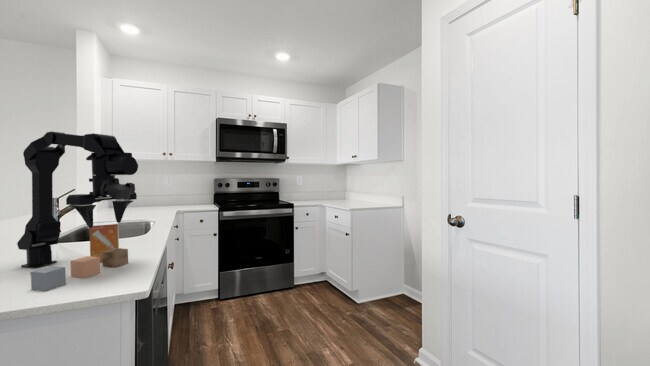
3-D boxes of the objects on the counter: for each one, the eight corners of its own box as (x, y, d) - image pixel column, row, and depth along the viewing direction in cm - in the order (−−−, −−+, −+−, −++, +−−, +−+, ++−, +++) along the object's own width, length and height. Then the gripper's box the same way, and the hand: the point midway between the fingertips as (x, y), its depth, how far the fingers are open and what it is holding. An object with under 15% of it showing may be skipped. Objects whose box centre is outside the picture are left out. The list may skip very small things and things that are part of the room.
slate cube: (31, 290, 81) (30, 271, 80) (52, 283, 85) (51, 265, 85) (45, 291, 79) (44, 273, 79) (66, 284, 84) (65, 267, 84)
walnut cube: (102, 266, 100) (102, 251, 100) (116, 262, 105) (116, 248, 105) (114, 267, 99) (114, 252, 99) (128, 263, 104) (127, 248, 103)
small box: (90, 263, 103) (89, 225, 102) (92, 259, 108) (90, 223, 108) (119, 259, 107) (118, 223, 107) (119, 255, 113) (118, 221, 112)
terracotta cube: (71, 277, 90) (70, 260, 90) (87, 271, 95) (87, 256, 95) (84, 278, 89) (83, 261, 89) (100, 272, 94) (99, 257, 94)
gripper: (94, 175, 83) (96, 232, 84) (149, 174, 101) (150, 221, 102) (63, 175, 86) (65, 230, 86) (122, 174, 104) (123, 219, 104)
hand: (105, 225), depth 95 cm, fingers open, 9 cm apart
